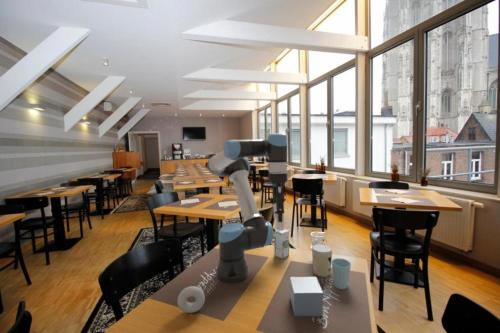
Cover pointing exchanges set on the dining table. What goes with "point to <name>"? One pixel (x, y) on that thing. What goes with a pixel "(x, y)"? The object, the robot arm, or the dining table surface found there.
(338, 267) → the cup
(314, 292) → the slate blue cube
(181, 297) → the grey ring
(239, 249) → the robot arm
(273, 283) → the dining table surface
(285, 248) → the syrup box
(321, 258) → the coffee cup
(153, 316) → the dining table surface
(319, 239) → the white hollow stepped cylinder
